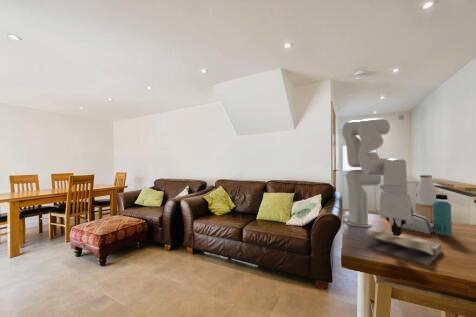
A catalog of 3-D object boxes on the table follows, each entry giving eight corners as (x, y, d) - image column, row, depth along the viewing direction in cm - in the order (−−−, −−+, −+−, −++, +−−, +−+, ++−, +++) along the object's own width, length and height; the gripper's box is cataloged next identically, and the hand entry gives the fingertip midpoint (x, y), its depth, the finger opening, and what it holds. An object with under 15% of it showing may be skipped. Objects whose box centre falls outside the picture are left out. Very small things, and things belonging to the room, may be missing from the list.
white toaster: (433, 231, 103) (430, 214, 102) (430, 237, 101) (427, 219, 99) (394, 223, 118) (391, 208, 116) (391, 228, 115) (387, 212, 114)
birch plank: (368, 235, 89) (369, 230, 89) (376, 239, 93) (377, 234, 93) (426, 251, 73) (427, 244, 73) (433, 255, 77) (433, 248, 77)
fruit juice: (419, 226, 112) (417, 175, 112) (414, 221, 120) (412, 174, 120) (442, 229, 107) (440, 175, 108) (435, 223, 116) (433, 174, 116)
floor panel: (366, 246, 88) (366, 239, 88) (384, 237, 98) (383, 230, 98) (427, 265, 72) (427, 256, 72) (441, 251, 82) (441, 243, 82)
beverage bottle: (449, 234, 99) (447, 193, 100) (455, 239, 93) (454, 195, 94) (431, 232, 102) (429, 193, 103) (436, 237, 96) (435, 195, 97)
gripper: (370, 188, 86) (371, 232, 86) (415, 192, 74) (417, 243, 73) (378, 186, 90) (379, 228, 90) (422, 190, 78) (424, 238, 77)
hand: (396, 235), depth 82 cm, fingers closed
